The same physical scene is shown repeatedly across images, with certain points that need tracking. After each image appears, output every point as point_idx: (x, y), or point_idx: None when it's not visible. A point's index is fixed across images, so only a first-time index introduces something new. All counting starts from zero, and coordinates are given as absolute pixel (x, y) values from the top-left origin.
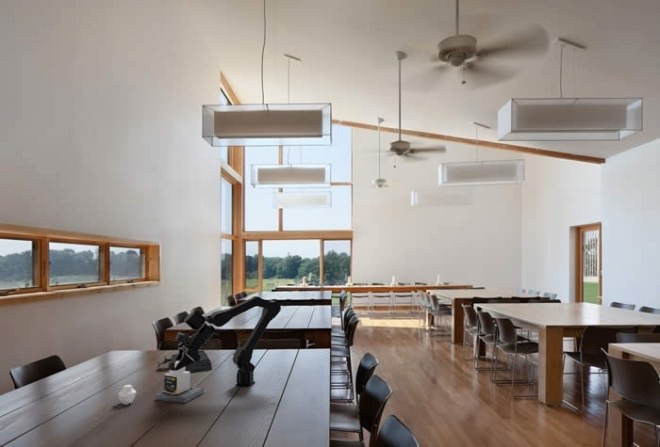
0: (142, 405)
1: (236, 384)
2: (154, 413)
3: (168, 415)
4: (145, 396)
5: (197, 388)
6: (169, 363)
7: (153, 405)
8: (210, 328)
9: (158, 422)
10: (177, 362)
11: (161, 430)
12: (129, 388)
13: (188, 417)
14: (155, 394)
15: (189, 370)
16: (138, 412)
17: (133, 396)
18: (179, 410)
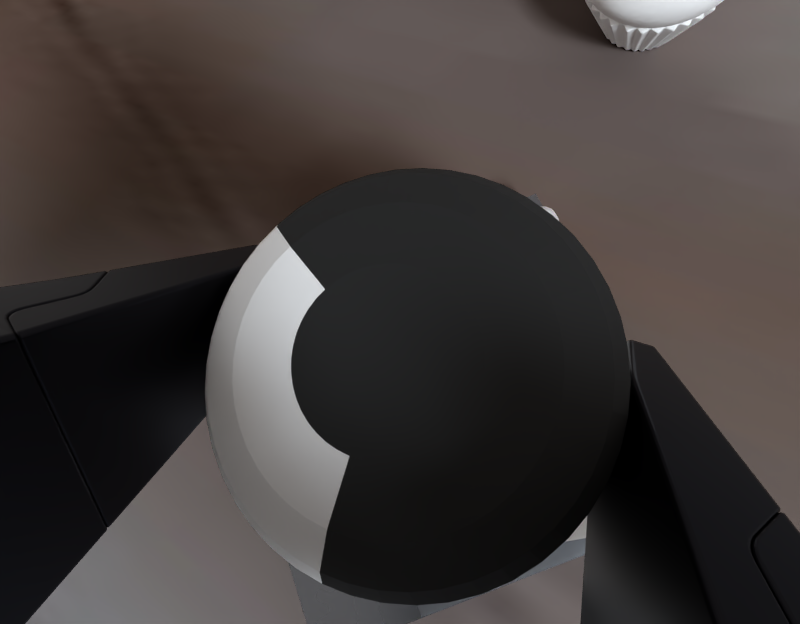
0: (474, 95)
1: None
2: (249, 108)
3: (148, 160)
4: (715, 187)
5: (363, 602)
6: (487, 181)
7: (404, 155)
8: None
9: (109, 81)
10: (247, 284)
11: (18, 61)
12: None
13: (26, 233)
14: (534, 195)
15: None
16: (353, 37)
17: (596, 7)
18: (160, 247)
